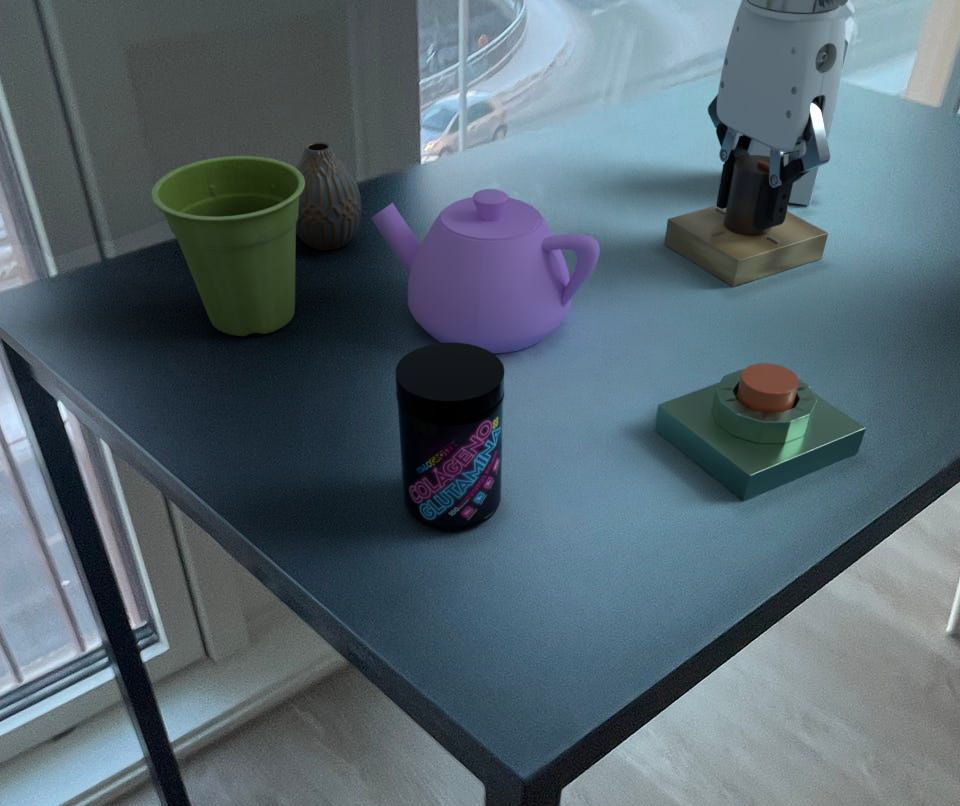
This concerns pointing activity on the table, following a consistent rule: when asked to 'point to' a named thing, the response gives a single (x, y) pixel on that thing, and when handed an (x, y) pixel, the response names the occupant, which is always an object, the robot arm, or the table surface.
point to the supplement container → (451, 434)
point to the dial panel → (743, 245)
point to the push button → (767, 388)
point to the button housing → (757, 436)
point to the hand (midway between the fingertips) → (749, 213)
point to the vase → (327, 199)
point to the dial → (746, 194)
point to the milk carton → (806, 184)
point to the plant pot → (237, 237)
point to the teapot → (488, 271)
